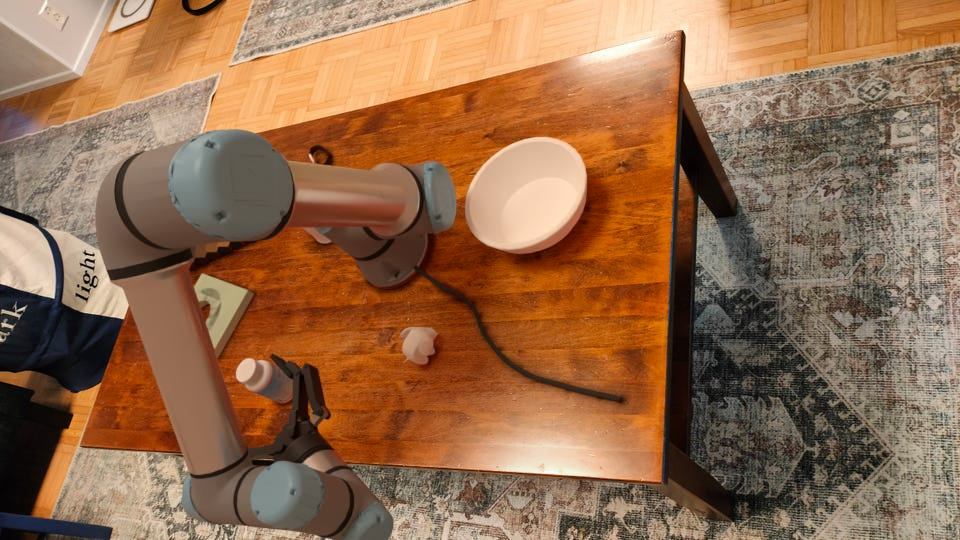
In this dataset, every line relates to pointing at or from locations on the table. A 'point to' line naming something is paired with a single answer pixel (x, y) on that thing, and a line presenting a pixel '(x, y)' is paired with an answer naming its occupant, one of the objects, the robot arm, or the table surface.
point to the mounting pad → (221, 307)
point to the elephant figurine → (418, 343)
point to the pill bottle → (265, 380)
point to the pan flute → (213, 251)
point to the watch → (316, 148)
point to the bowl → (527, 195)
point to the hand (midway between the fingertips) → (250, 391)
